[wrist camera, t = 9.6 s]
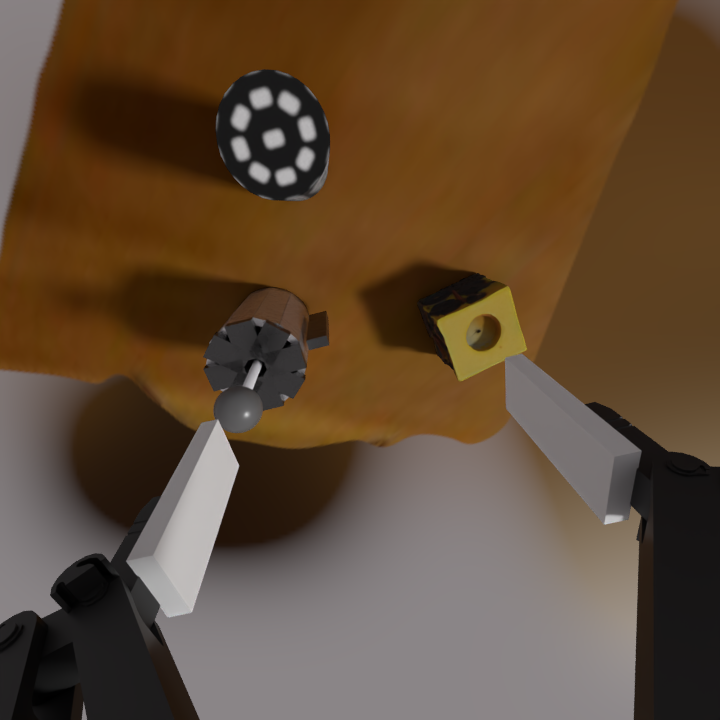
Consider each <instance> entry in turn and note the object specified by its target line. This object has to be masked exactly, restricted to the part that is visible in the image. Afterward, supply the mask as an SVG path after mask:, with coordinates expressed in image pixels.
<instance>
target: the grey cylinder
mask: <svg viewBox="0 0 720 720" xmlns="http://www.w3.org/2000/svg"><path fill="white" fill-rule="evenodd" d="M256 326H260V327H262V329H261V330H260V332H258V330H257V327H256ZM287 340H288V341H289V342H290V343H291V344H287V345H285V343H286V341H287ZM327 345H329V324H328V316H327V312H326V311H324V312H320V313H316V314H312V315H309V313H308V310H307V308H306V306H305V305H304V303H303V302H302V301H301V300H300V299H299V298H298V297H297V296H296V295H294V294H293V293H291V292H289V291H287V290H285V289H281V288H275V287H269V288H263V289H260V290H257V291H255V292H252V293H251V294H250V295H249V296H248V297H247V298H246V299H245V300H244V301H243V302H242V304H241V305H240V306H239V307H238V308H237V309H236V310H235V312H234V313H233V314H232V315H231V317H230V318H229V319H228V320H227V321H226V323H225V324H224V325H223V326H222V327H221V329H220V330H219V331H218V332H216V333H215V334H214V336H213V338H212V340H211V341H210V343H209V346H208V348H207V350H206V352H205V354H204V356H203V357H205V358H207V364H206V366H205V367H204V371H205V373H206V375H207V378H208V380H209V382H210V384H211V386H212V388H213V390H214V391H217V390H221V391H225V390H226V389H228V388H230V387H234V386H243V384H244V382H245V379H246V377H247V375H248V373H249V370H250V368H251V366H252V364H253V361H254V359H258V360H261V361H263V364H262V367H261V369H260V372H259V374H258V377H257V380H256V382H255V385H254V387H253V390H254V391H255V392H256V393H257V394H258V395H259V397H260V399H261V401H262V405H263V411H264V410H268V409H272V408H276V407H280V406H284V401H285V400H286V399H287V398H288V397H290V398H292V399H293V398H294V397H295V395H296V393H297V392H298V390H299V389H300V387H301V385H302V384H303V382H304V380H305V376H306V375H304V373H305V369H306V367H307V358H308V349H309V350H311V349H315V348H319V347H323V346H327Z"/></svg>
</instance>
